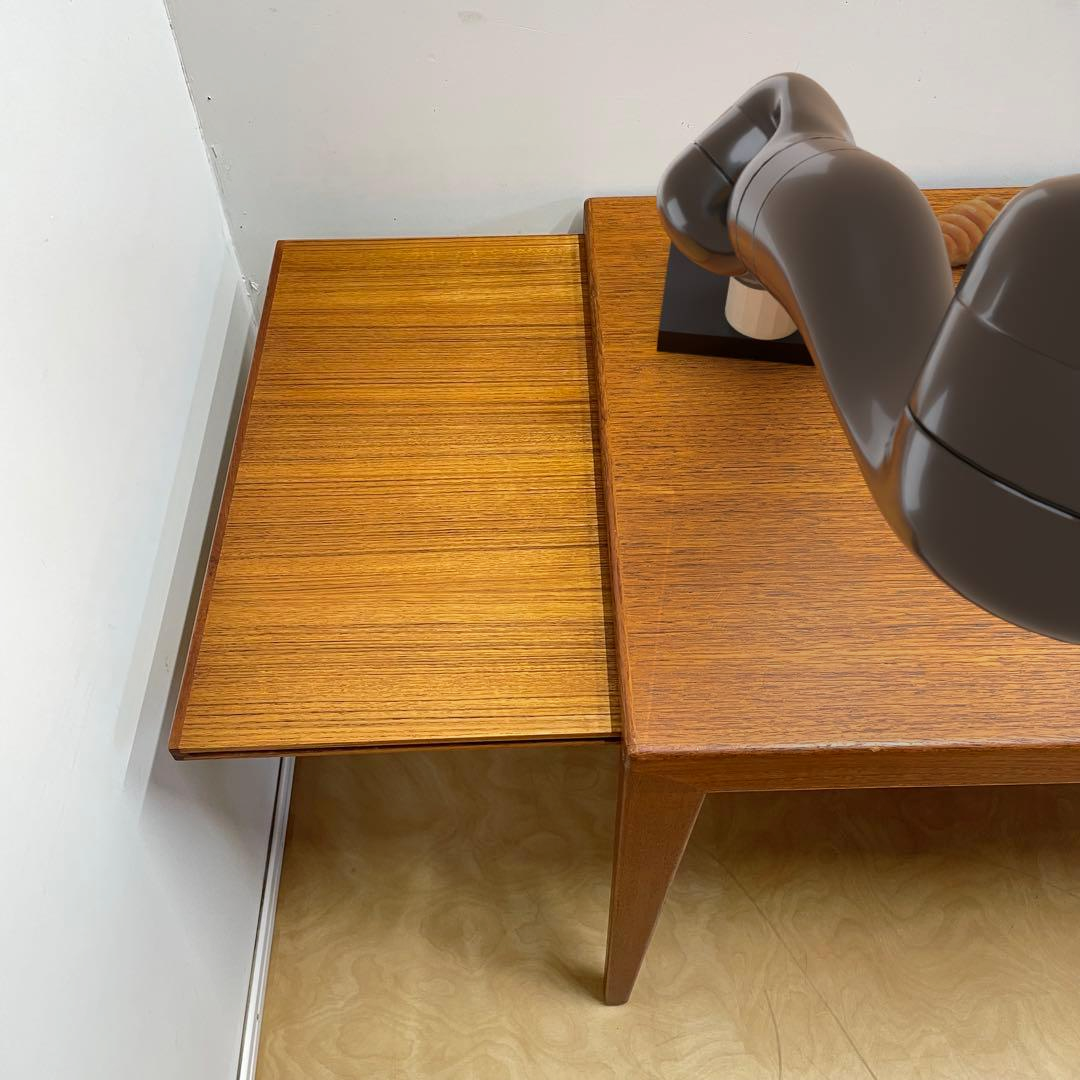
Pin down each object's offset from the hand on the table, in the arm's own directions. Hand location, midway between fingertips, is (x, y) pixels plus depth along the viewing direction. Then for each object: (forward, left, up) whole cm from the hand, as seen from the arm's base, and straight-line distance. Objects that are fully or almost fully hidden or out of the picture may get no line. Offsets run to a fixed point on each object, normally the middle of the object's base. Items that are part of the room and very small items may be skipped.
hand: (776, 261), depth 84 cm
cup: (0, +2, -4) cm, 5 cm away
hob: (0, -2, -7) cm, 7 cm away
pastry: (-19, -14, -7) cm, 24 cm away
